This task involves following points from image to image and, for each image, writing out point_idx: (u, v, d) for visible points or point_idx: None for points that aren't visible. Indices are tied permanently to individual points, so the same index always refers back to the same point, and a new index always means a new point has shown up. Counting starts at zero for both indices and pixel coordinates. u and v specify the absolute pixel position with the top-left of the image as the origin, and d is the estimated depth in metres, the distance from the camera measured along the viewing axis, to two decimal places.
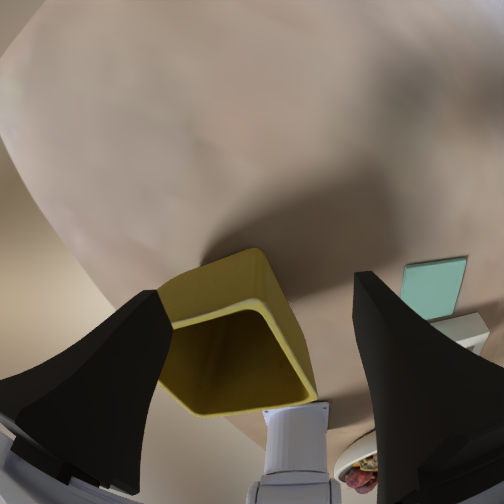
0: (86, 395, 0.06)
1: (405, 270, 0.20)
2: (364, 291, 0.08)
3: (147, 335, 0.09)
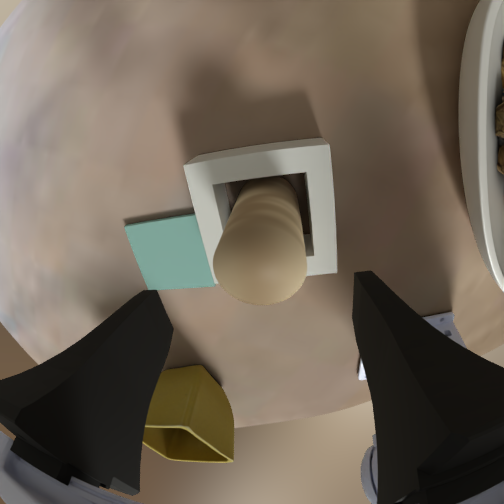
0: (86, 395, 0.06)
1: None
2: (364, 291, 0.08)
3: (147, 335, 0.09)
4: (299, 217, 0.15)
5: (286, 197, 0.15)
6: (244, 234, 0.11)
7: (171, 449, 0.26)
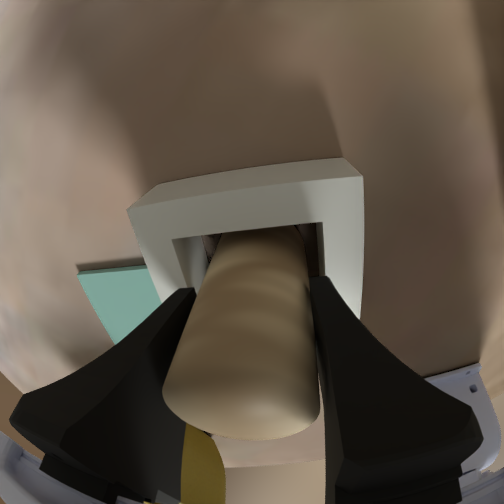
0: (132, 404, 0.06)
1: None
2: (312, 297, 0.08)
3: None
4: (309, 299, 0.09)
5: (288, 264, 0.09)
6: (208, 374, 0.06)
7: None
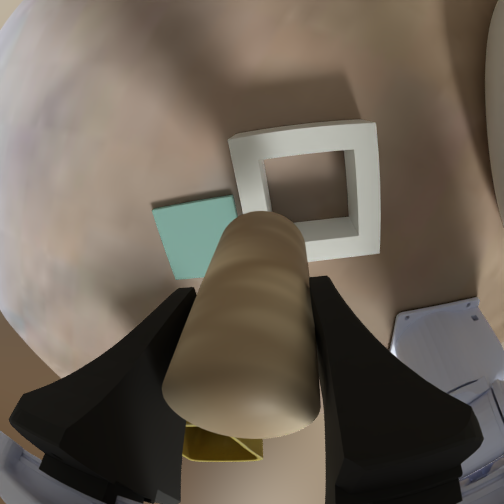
0: (132, 404, 0.06)
1: None
2: (312, 297, 0.08)
3: None
4: (310, 297, 0.09)
5: (290, 262, 0.09)
6: (209, 371, 0.06)
7: (194, 450, 0.25)
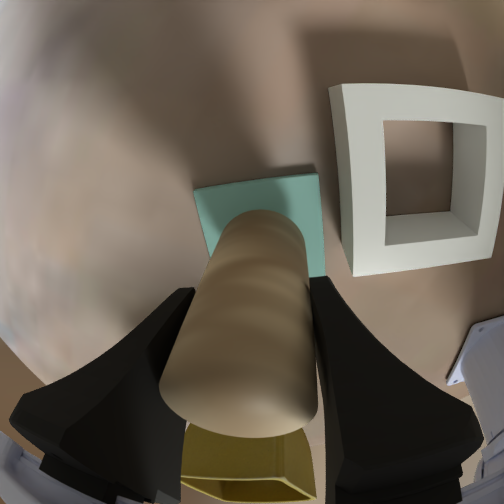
0: (132, 404, 0.06)
1: None
2: (312, 297, 0.08)
3: None
4: (309, 297, 0.09)
5: (290, 261, 0.09)
6: (207, 369, 0.06)
7: (227, 489, 0.19)
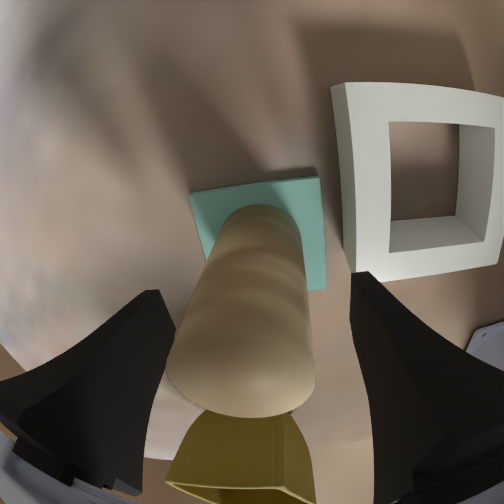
0: (89, 395, 0.06)
1: None
2: (361, 291, 0.08)
3: (150, 335, 0.09)
4: (305, 283, 0.10)
5: (287, 250, 0.10)
6: (212, 344, 0.06)
7: (226, 495, 0.18)
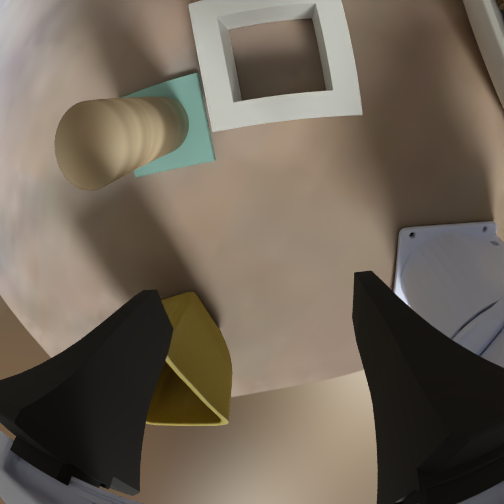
0: (86, 395, 0.06)
1: None
2: (364, 291, 0.08)
3: (147, 335, 0.09)
4: (157, 115, 0.13)
5: (151, 100, 0.13)
6: (73, 113, 0.09)
7: (150, 409, 0.21)
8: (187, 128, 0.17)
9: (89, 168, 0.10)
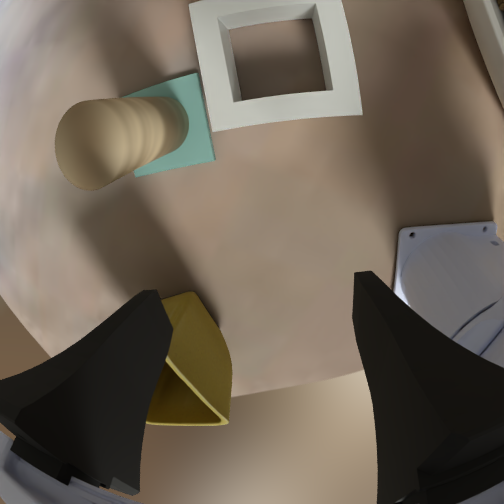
0: (86, 395, 0.06)
1: (140, 175, 0.19)
2: (364, 291, 0.08)
3: (147, 335, 0.09)
4: (157, 115, 0.13)
5: (151, 100, 0.13)
6: (73, 113, 0.09)
7: (150, 409, 0.21)
8: (187, 128, 0.17)
9: (89, 168, 0.10)
